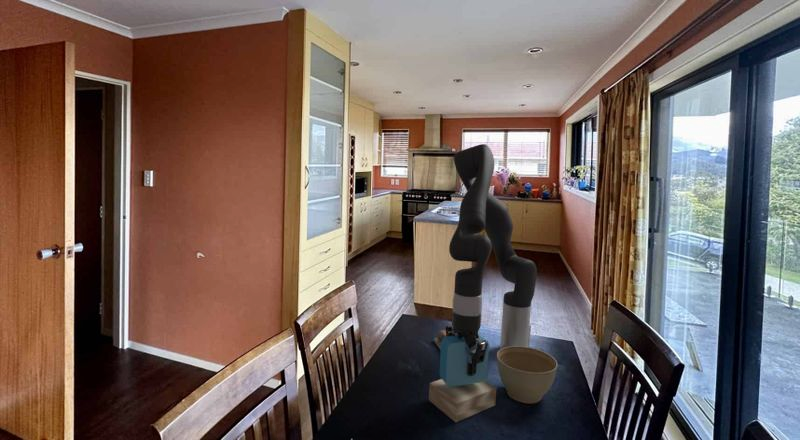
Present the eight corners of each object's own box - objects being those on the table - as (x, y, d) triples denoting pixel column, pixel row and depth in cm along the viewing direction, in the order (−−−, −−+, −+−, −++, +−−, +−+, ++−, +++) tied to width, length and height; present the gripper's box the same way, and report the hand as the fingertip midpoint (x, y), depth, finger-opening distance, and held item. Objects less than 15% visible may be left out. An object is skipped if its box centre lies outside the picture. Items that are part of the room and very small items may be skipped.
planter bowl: (563, 395, 112) (567, 359, 111) (537, 420, 101) (540, 380, 100) (512, 373, 124) (514, 340, 122) (483, 393, 112) (485, 357, 111)
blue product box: (478, 373, 111) (481, 332, 109) (486, 381, 106) (489, 339, 105) (438, 379, 107) (440, 336, 105) (445, 388, 103) (448, 344, 101)
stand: (466, 385, 116) (467, 369, 115) (495, 405, 107) (496, 387, 106) (428, 400, 108) (429, 383, 107) (455, 422, 99) (456, 403, 98)
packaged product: (433, 329, 145) (458, 327, 147) (432, 341, 145) (458, 339, 148) (452, 351, 127) (480, 349, 130) (451, 366, 128) (479, 363, 131)
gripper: (438, 303, 108) (435, 362, 110) (475, 321, 96) (472, 386, 98) (459, 299, 112) (456, 355, 114) (497, 315, 100) (493, 378, 102)
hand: (463, 369), depth 106 cm, fingers closed on blue product box, 5 cm apart
